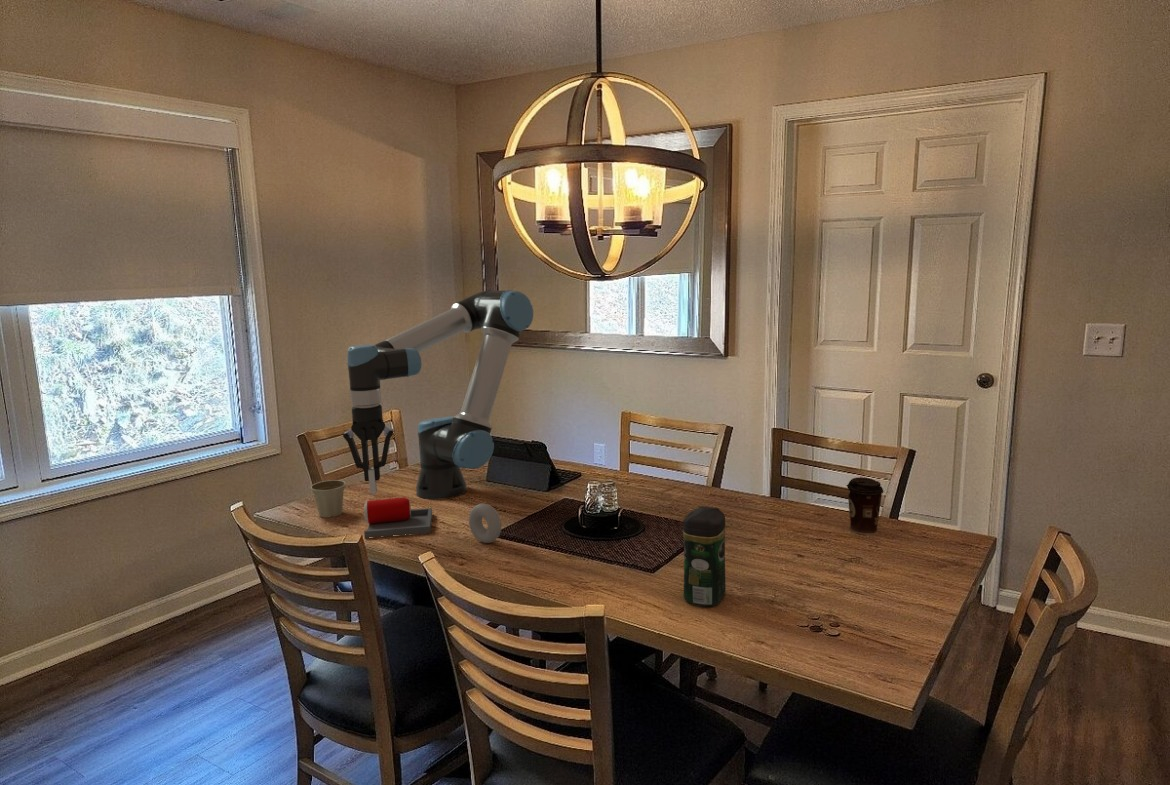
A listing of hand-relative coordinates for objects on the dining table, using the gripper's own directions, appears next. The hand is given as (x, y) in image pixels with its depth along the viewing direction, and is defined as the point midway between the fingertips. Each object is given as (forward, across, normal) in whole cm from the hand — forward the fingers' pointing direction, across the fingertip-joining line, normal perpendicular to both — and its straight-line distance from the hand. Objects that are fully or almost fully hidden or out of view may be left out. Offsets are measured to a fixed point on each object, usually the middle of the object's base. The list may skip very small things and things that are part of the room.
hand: (373, 492), depth 192 cm
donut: (+10, -28, +17) cm, 35 cm away
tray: (+10, -6, 0) cm, 12 cm away
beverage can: (+6, +3, -3) cm, 8 cm away
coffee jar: (+10, -72, +58) cm, 93 cm away
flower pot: (+10, +14, -14) cm, 23 cm away
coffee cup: (+10, -122, +31) cm, 127 cm away
